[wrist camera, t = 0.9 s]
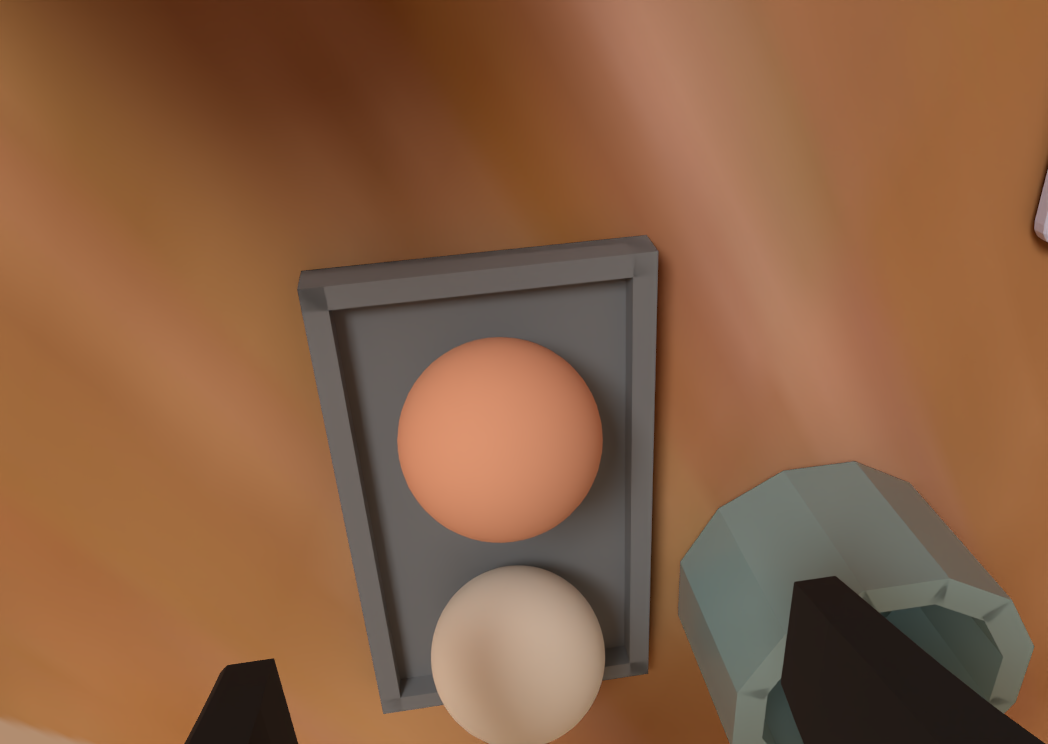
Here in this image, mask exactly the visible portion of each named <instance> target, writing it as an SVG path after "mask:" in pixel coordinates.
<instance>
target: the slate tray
mask: <svg viewBox="0 0 1048 744" xmlns="http://www.w3.org/2000/svg"><path fill="white" fill-rule="evenodd" d="M657 286H658V250H657V249H656V247H655V246H654V245H653V243H652V242H651V241H650V239H649V238H648V237H647V235H643V236H633V237H624V238H614V239H605V240H595V241H585V242H576V243H566V244H556V245H547V246H537V247H528V248H518V249H508V250H499V251H489V252H479V253H470V254H460V255H451V256H441V257H431V258H422V259H412V260H402V261H393V262H383V263H374V264H364V265H354V266H345V267H335V268H325V269H316V270H306V271H301V275H300V279H299V284H298V288H297V290H298V295H299V300H300V305H301V310H302V315H303V320H304V325H305V330H306V335H307V340H308V345H309V350H310V355H311V359H312V364H313V369H314V374H315V379H316V384H317V389H318V394H319V399H320V404H321V409H322V414H323V419H324V424H325V428H326V433H327V438H328V443H329V448H330V453H331V458H332V463H333V468H334V473H335V478H336V483H337V488H338V493H339V497H340V502H341V507H342V512H343V517H344V522H345V527H346V532H347V537H348V542H349V547H350V552H351V557H352V562H353V566H354V571H355V576H356V581H357V586H358V591H359V596H360V601H361V606H362V611H363V616H364V621H365V626H366V631H367V635H368V640H369V645H370V650H371V655H372V660H373V665H374V670H375V675H376V680H377V685H378V690H379V695H380V699H381V704H382V709H383V714H386V713H393V712H399V711H406V710H412V709H419V708H426V707H432V706H439V705H444V704H443V702H442V701H441V699H440V696H439V694H438V692H437V689H436V686H435V683H434V679H433V674H432V667H431V647H432V640H433V635H434V631H435V628H436V625H437V622H438V620H439V618H440V616H441V613H442V611H443V610H444V608H445V607H446V605H447V604H448V602H449V601H450V599H451V598H452V597H453V596H454V594H455V593H456V592H457V591H458V590H459V589H460V588H461V587H463V586H464V585H465V584H466V583H467V582H469V581H470V580H472V579H473V578H475V577H477V576H478V575H480V574H482V573H485V572H487V571H490V570H492V569H496V568H499V567H504V566H513V565H523V566H533V567H537V568H541V569H544V570H547V571H550V572H552V573H554V574H556V575H558V576H560V577H562V578H563V579H565V580H566V581H567V582H569V583H570V584H571V585H573V586H574V587H575V588H576V589H577V590H578V591H579V592H580V593H581V594H582V595H583V596H584V598H585V599H586V600H587V602H588V603H589V604H590V606H591V608H592V609H593V611H594V613H595V615H596V617H597V619H598V622H599V625H600V628H601V631H602V635H603V640H604V647H605V667H604V674H603V679H602V681H603V680H609V679H616V678H622V677H629V676H636V675H642V674H648V655H649V614H650V573H651V532H652V491H653V450H654V409H655V368H656V327H657ZM491 337H508V338H517V339H522V340H527V341H530V342H533V343H536V344H539V345H541V346H543V347H545V348H547V349H549V350H551V351H553V352H554V353H556V354H557V355H559V356H560V357H562V358H563V359H564V360H565V361H567V362H568V363H569V364H570V365H571V366H572V367H573V368H574V369H575V370H576V371H577V373H578V374H579V375H580V376H581V377H582V378H583V380H584V381H585V383H586V385H587V386H588V388H589V390H590V391H591V393H592V395H593V397H594V400H595V402H596V404H597V408H598V411H599V415H600V419H601V424H602V437H603V444H602V455H601V460H600V464H599V469H598V472H597V475H596V477H595V480H594V482H593V484H592V486H591V488H590V490H589V492H588V494H587V495H586V497H585V498H584V499H583V501H582V502H581V504H580V505H579V506H578V507H577V508H576V509H575V510H574V511H573V512H572V513H571V515H570V516H568V517H567V518H566V519H565V520H564V521H563V522H561V523H560V524H558V525H557V526H555V527H554V528H552V529H550V530H548V531H546V532H545V533H542V534H540V535H537V536H535V537H532V538H528V539H525V540H520V541H515V542H506V543H491V542H483V541H478V540H474V539H470V538H467V537H465V536H462V535H460V534H457V533H455V532H453V531H451V530H449V529H447V528H446V527H444V526H443V525H441V524H440V523H439V522H437V521H436V520H435V519H434V518H433V517H432V516H430V515H429V514H428V513H427V512H426V511H425V510H424V509H423V507H422V506H421V505H420V504H419V503H418V501H417V500H416V498H415V497H414V495H413V494H412V492H411V490H410V489H409V487H408V485H407V482H406V480H405V477H404V475H403V472H402V469H401V465H400V461H399V455H398V444H397V437H398V426H399V419H400V415H401V411H402V408H403V405H404V403H405V400H406V398H407V396H408V393H409V392H410V390H411V388H412V386H413V385H414V383H415V382H416V380H417V379H418V378H419V377H420V375H421V374H422V373H423V371H424V370H425V369H426V368H427V367H428V366H429V365H430V364H431V363H432V362H433V361H435V360H436V359H437V358H439V357H440V356H441V355H443V354H445V353H446V352H448V351H450V350H451V349H453V348H455V347H457V346H460V345H462V344H464V343H467V342H471V341H474V340H478V339H483V338H491Z"/></svg>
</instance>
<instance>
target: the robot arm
mask: <svg viewBox="0 0 1048 744" xmlns="http://www.w3.org/2000/svg"><path fill="white" fill-rule="evenodd" d="M1034 230H1035V232H1036V234H1037V236H1038V237H1039V238H1041V239H1042V240H1044V241H1046V242H1048V171H1047V175H1046V179H1045V183H1044V187H1043V191H1042V195H1041V198H1040V202H1039V206H1038V210H1037V214H1036V218H1035V226H1034ZM781 685H782V688H783V690H784V693H785V696H786V699H787V701H788V704H789V707H790V710H791V712H792V715H793V718H794V720H795V723H796V726H797V728H798V731H799V733H800V736H801V738H802V741H803V743H804V744H1045V743H1043V742H1042V741H1041V740H1039V739H1038V738H1037V737H1035V736H1034V735H1032V734H1031V733H1030V732H1028V731H1027V730H1026V729H1024V728H1023V727H1021V726H1020V725H1019V724H1017V723H1016V722H1014V721H1013V720H1012V719H1010V718H1009V717H1008V716H1006V715H1005V714H1003V713H1002V712H1001V711H1000V710H998V709H997V708H996V707H994V706H993V705H992V704H990V703H989V702H988V701H986V700H985V699H984V698H983V697H981V696H980V695H979V694H978V693H976V692H975V691H974V690H973V689H971V688H970V687H969V686H967V685H966V684H965V683H964V682H962V681H961V680H960V679H959V678H957V677H956V676H955V675H954V674H952V673H951V672H950V671H949V670H947V669H946V668H945V667H944V666H942V665H941V664H940V663H939V662H937V661H936V660H935V659H934V658H933V657H931V656H930V655H929V654H928V653H927V652H925V651H924V650H923V649H922V648H920V647H919V646H918V645H917V644H916V643H915V642H913V641H912V640H911V639H910V638H909V637H907V636H906V635H905V634H904V633H903V632H901V631H900V630H899V629H898V628H897V627H895V626H894V625H893V624H892V623H891V622H890V621H888V620H887V619H886V618H885V617H884V616H883V615H881V614H880V613H879V612H878V611H877V610H876V609H874V608H873V607H872V606H871V605H870V604H868V603H867V602H866V601H865V600H864V599H863V598H861V597H860V596H859V595H858V594H857V593H856V592H854V591H853V590H852V589H851V588H850V587H848V586H847V585H846V584H845V583H844V582H842V581H841V580H840V579H839V578H838V577H836V576H830V577H824V578H817V579H810V580H803V581H796V582H794V586H793V594H792V601H791V608H790V616H789V623H788V631H787V638H786V646H785V653H784V660H783V668H782V675H781ZM185 744H298V742H297V738H296V735H295V731H294V728H293V724H292V721H291V717H290V713H289V710H288V706H287V703H286V699H285V696H284V692H283V689H282V685H281V682H280V678H279V675H278V671H277V668H276V664H275V660H274V658H273V659H266V660H260V661H253V662H246V663H239V664H233V665H227V666H226V667H225V668H224V669H223V670H222V672H221V673H220V675H219V677H218V679H217V681H216V683H215V685H214V687H213V689H212V691H211V693H210V695H209V697H208V699H207V701H206V703H205V705H204V707H203V709H202V711H201V713H200V715H199V717H198V719H197V721H196V723H195V725H194V727H193V729H192V731H191V733H190V734H189V736H188V738H187V740H186V742H185Z"/></svg>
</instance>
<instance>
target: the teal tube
mask: <svg viewBox="0 0 1048 744" xmlns="http://www.w3.org/2000/svg"><path fill="white" fill-rule="evenodd" d="M830 576H836V577H838V578H839V579H840V580H841V581H842V582H844V583H845V584H846V585H847V586H848V587H850V588H851V589H852V590H853V591H854V592H856V593H857V594H858V595H859V596H860V597H861V598H863V599H864V600H865V601H866V602H867V603H868V604H870V605H871V606H872V607H873V608H874V609H876V610H877V611H878V612H879V613H880V614H881V615H883V616H884V617H885V618H886V619H887V620H888V621H890V622H891V623H892V624H893V625H894V626H895V627H897V628H898V629H899V630H900V631H901V632H903V633H904V634H905V635H906V636H907V637H909V638H910V639H911V640H912V641H913V642H915V643H916V644H917V645H918V646H919V647H920V648H922V649H923V650H924V651H925V652H927V653H928V654H929V655H930V656H931V657H933V658H934V659H935V660H936V661H937V662H939V663H940V664H941V665H942V666H944V667H945V668H946V669H947V670H949V671H950V672H951V673H952V674H954V675H955V676H956V677H957V678H959V679H960V680H961V681H962V682H964V683H965V684H966V685H967V686H969V687H970V688H971V689H973V690H974V691H975V692H976V693H978V694H979V695H980V696H981V697H983V698H984V699H985V700H986V701H988V702H989V703H990V704H992V705H993V706H994V707H996V708H997V709H998V710H1000V711H1001V712H1002V713H1003V714H1004V713H1005V712H1006V711H1007V710H1008V709H1009V708H1010V707H1011V706H1012V705H1013V704H1014V703H1015V702H1016V699H1017V696H1018V693H1019V690H1020V687H1021V685H1022V682H1023V679H1024V676H1025V673H1026V670H1027V667H1028V664H1029V661H1030V658H1031V655H1032V652H1033V649H1034V645H1033V643H1032V641H1031V639H1030V637H1029V635H1028V633H1027V630H1026V628H1025V626H1024V624H1023V622H1022V620H1021V618H1020V616H1019V614H1018V612H1017V610H1016V608H1015V606H1014V603H1013V601H1012V600H1011V598H1010V597H1009V596H1008V595H1007V594H1006V593H1005V592H1004V590H1003V589H1002V588H1001V587H1000V586H999V585H998V584H997V582H996V581H995V580H994V579H993V578H992V577H991V576H990V574H989V573H988V572H987V571H986V570H985V569H984V568H983V566H982V565H981V564H980V563H979V562H978V561H977V560H976V558H975V557H974V556H973V555H972V554H971V553H970V551H969V550H968V549H967V548H966V547H965V546H964V545H963V543H962V542H961V541H960V540H959V539H958V538H957V537H956V535H955V534H954V533H953V532H952V531H951V530H950V529H949V527H948V526H947V525H946V524H945V523H944V522H943V521H942V519H941V518H940V517H939V516H938V515H937V514H936V513H935V511H934V510H933V509H932V508H931V507H930V506H929V505H928V503H927V502H926V501H925V500H924V499H923V498H922V497H921V495H920V494H919V493H918V492H917V491H916V490H915V489H914V487H913V486H912V485H911V484H910V483H908V482H906V481H903V480H901V479H898V478H896V477H893V476H891V475H888V474H886V473H883V472H880V471H878V470H875V469H873V468H870V467H868V466H865V465H863V464H860V463H858V462H855V461H854V462H846V463H839V464H831V465H824V466H816V467H808V468H801V469H793V470H786V471H782V472H780V473H779V474H777V475H775V476H774V477H772V478H770V479H768V480H767V481H765V482H763V483H762V484H760V485H758V486H757V487H755V488H753V489H751V490H750V491H748V492H746V493H745V494H743V495H741V496H739V497H738V498H736V499H734V500H733V501H731V502H729V503H727V504H726V505H724V506H722V507H721V508H719V509H718V510H717V512H716V513H715V514H714V516H713V517H712V519H711V520H710V521H709V523H708V524H707V526H706V527H705V528H704V530H703V531H702V532H701V534H700V535H699V537H698V538H697V539H696V541H695V542H694V544H693V545H692V546H691V548H690V549H689V551H688V552H687V553H686V555H685V556H684V558H683V559H682V560H681V562H680V581H679V602H678V615H679V618H680V620H681V623H682V625H683V628H684V630H685V633H686V635H687V638H688V640H689V643H690V645H691V648H692V650H693V653H694V655H695V658H696V660H697V663H698V665H699V668H700V670H701V673H702V675H703V678H704V680H705V683H706V685H707V688H708V690H709V693H710V695H711V698H712V700H713V703H714V705H715V708H716V710H717V713H718V715H719V718H720V720H721V723H722V725H723V728H724V730H725V733H726V735H727V738H728V740H729V743H730V744H804V743H803V741H802V738H801V736H800V733H799V731H798V728H797V726H796V723H795V720H794V718H793V715H792V712H791V710H790V707H789V704H788V701H787V699H786V696H785V693H784V690H783V688H782V685H781V675H782V668H783V660H784V653H785V646H786V638H787V631H788V623H789V616H790V608H791V601H792V594H793V586H794V582H796V581H803V580H810V579H817V578H824V577H830Z"/></svg>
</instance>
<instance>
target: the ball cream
mask: <svg viewBox="0 0 1048 744" xmlns="http://www.w3.org/2000/svg"><path fill="white" fill-rule="evenodd" d="M431 667H432V674H433V679H434V683H435V686H436V689H437V692H438V694H439V696H440V699H441V701H442V702H443V704H444V706H445V708H446V709H447V711H448V712H449V713H450V715H451V716H452V717H453V718H454V720H455V721H456V722H457V723H458V724H459V725H460V726H461V727H463V728H464V729H465V730H466V731H467V732H469V733H470V734H471V735H473V736H475V737H477V738H479V739H481V740H482V741H484V742H487V743H489V744H546V743H549V742H552V741H554V740H556V739H558V738H559V737H561V736H562V735H564V734H565V733H567V732H568V731H570V730H571V729H572V728H574V727H575V726H576V725H577V724H578V723H579V722H580V720H581V719H582V718H583V717H584V716H585V714H586V713H587V712H588V711H589V709H590V707H591V706H592V704H593V702H594V700H595V699H596V696H597V694H598V692H599V689H600V686H601V683H602V679H603V674H604V667H605V647H604V640H603V635H602V631H601V628H600V625H599V622H598V619H597V617H596V615H595V613H594V611H593V609H592V608H591V606H590V604H589V603H588V602H587V600H586V599H585V598H584V596H583V595H582V594H581V593H580V592H579V591H578V590H577V589H576V588H575V587H574V586H573V585H571V584H570V583H569V582H567V581H566V580H565V579H563V578H562V577H560V576H558V575H556V574H554V573H552V572H550V571H547V570H544V569H541V568H537V567H533V566H523V565H513V566H504V567H499V568H496V569H492V570H490V571H487V572H485V573H482V574H480V575H478V576H477V577H475V578H473V579H472V580H470V581H469V582H467V583H466V584H465V585H464V586H463V587H461V588H460V589H459V590H458V591H457V592H456V593H455V594H454V596H453V597H452V598H451V599H450V601H449V602H448V604H447V605H446V607H445V608H444V610H443V611H442V613H441V616H440V618H439V620H438V622H437V625H436V628H435V631H434V635H433V640H432V647H431Z"/></svg>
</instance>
